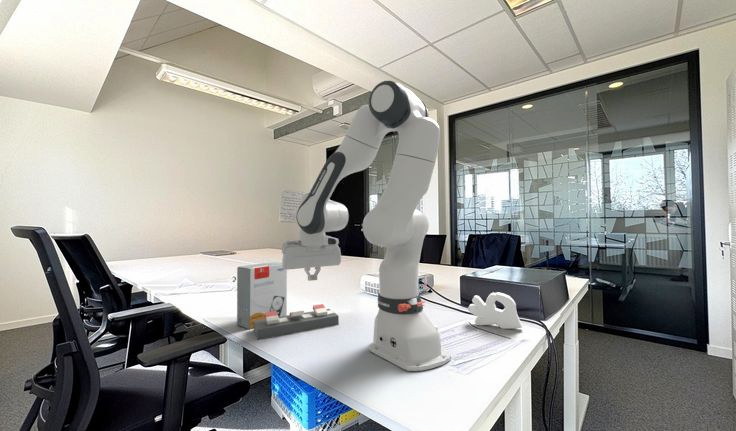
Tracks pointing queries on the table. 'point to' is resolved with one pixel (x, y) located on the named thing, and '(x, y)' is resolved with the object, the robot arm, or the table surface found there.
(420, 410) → the table surface
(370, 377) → the table surface
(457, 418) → the table surface
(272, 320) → the rocker
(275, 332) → the power strip
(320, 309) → the rocker
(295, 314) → the rocker
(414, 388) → the table surface
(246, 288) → the hard drive box
